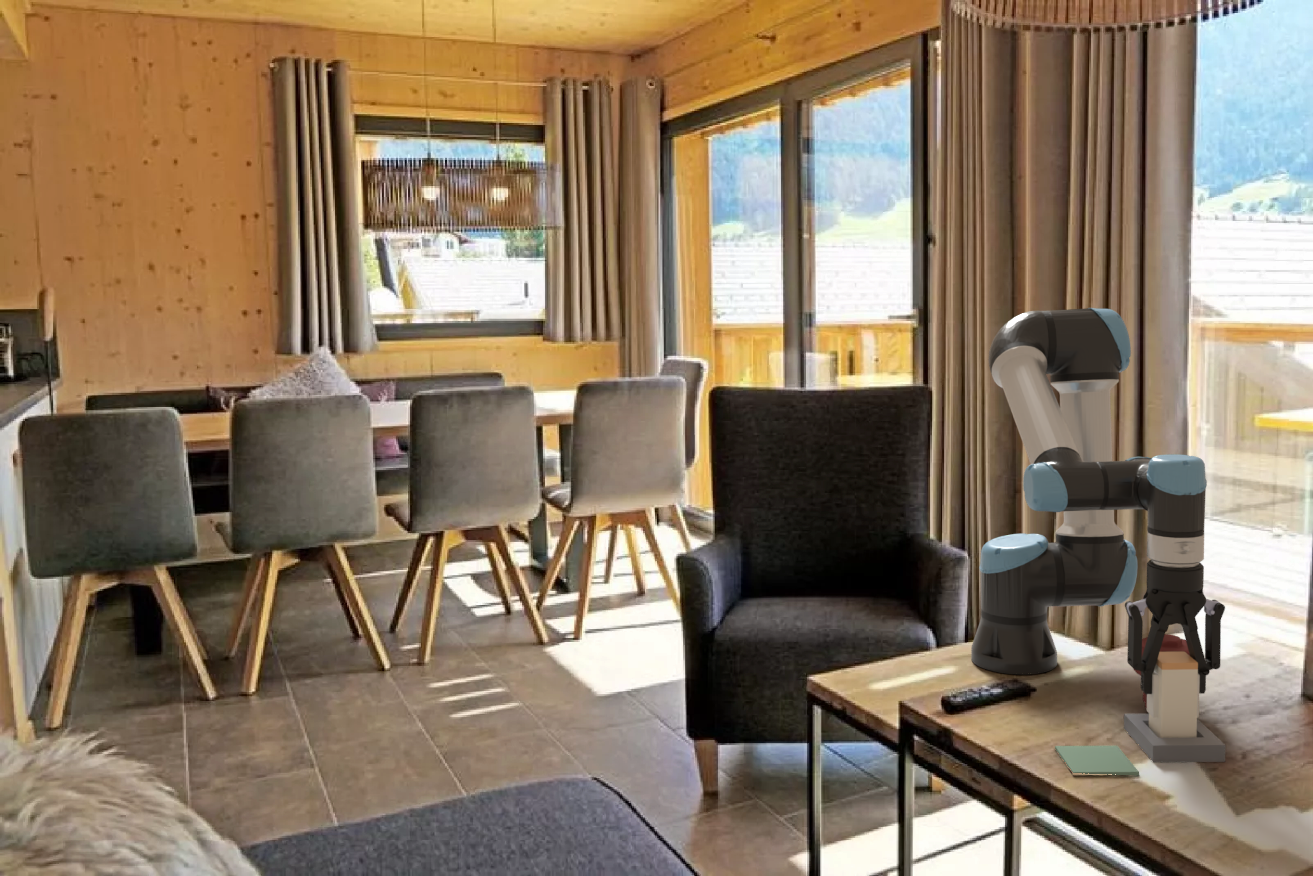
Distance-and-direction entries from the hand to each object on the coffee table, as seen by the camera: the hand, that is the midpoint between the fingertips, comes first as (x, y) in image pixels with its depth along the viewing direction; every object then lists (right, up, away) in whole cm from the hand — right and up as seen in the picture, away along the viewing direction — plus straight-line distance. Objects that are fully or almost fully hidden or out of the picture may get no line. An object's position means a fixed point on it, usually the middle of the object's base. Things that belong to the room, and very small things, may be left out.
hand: (1172, 713), depth 160 cm
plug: (0, -4, +1) cm, 4 cm away
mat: (-13, -6, -4) cm, 15 cm away
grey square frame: (0, -5, +1) cm, 5 cm away
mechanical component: (+5, -3, +13) cm, 15 cm away
